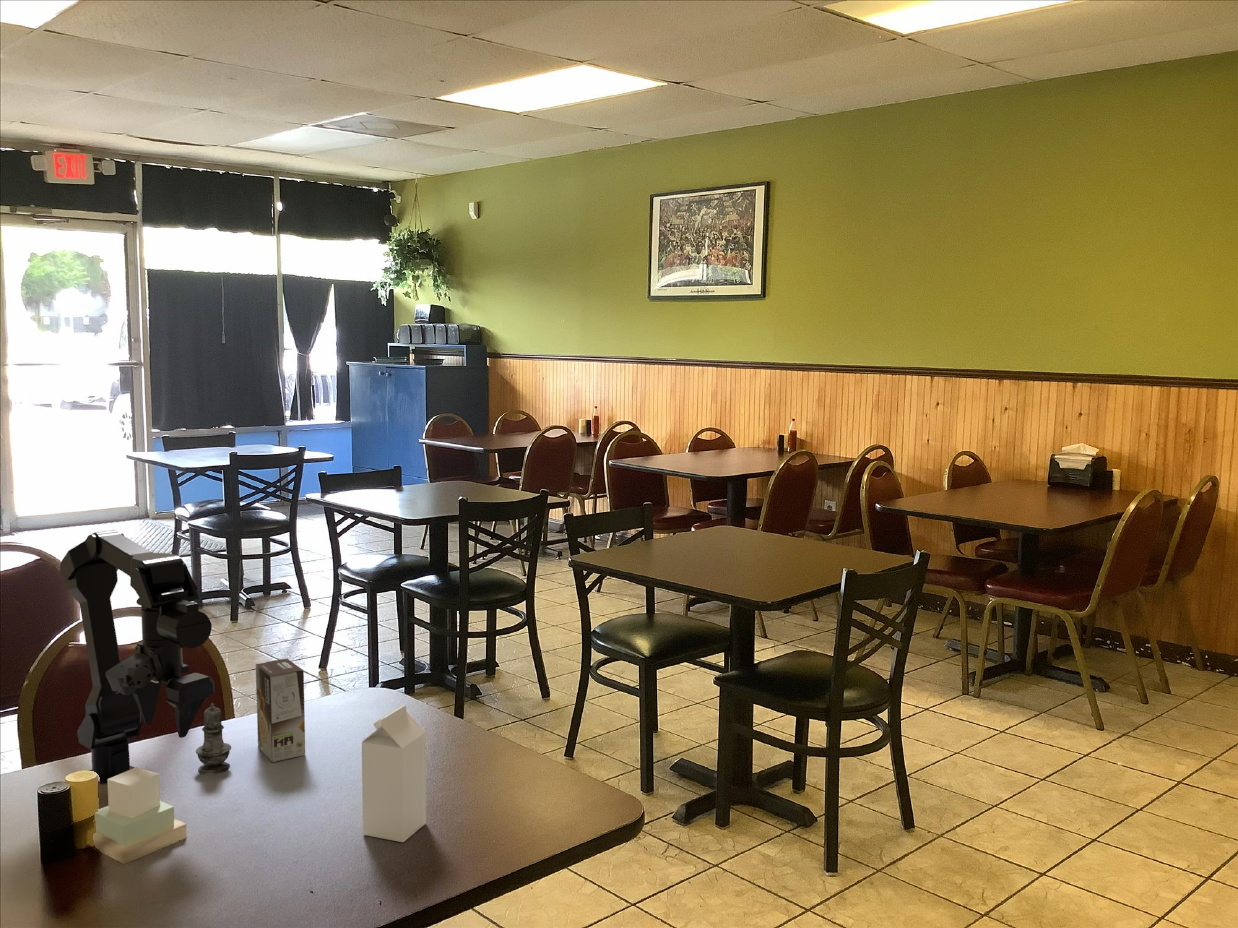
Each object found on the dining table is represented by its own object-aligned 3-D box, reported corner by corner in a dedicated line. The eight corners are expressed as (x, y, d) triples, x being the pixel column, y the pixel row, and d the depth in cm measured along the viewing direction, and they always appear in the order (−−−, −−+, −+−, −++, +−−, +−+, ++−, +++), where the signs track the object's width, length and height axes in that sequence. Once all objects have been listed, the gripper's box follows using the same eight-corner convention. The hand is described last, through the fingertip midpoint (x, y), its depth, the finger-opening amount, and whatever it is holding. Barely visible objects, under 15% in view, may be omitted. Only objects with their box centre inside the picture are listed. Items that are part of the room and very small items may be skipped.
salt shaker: (219, 776, 181) (217, 709, 180) (189, 773, 182) (187, 706, 181) (238, 763, 187) (236, 698, 186) (208, 760, 188) (206, 695, 187)
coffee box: (307, 755, 191) (305, 670, 189) (272, 762, 187) (270, 676, 185) (289, 739, 198) (288, 657, 197) (255, 746, 195) (253, 663, 193)
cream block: (108, 811, 156) (107, 779, 155) (137, 798, 160) (136, 766, 160) (131, 818, 154) (130, 786, 153) (160, 805, 158) (159, 773, 157)
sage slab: (93, 830, 156) (93, 811, 156) (144, 811, 163) (143, 792, 162) (123, 845, 151) (123, 825, 151) (174, 825, 158) (173, 806, 158)
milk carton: (426, 823, 165) (425, 707, 162) (403, 843, 158) (402, 722, 156) (387, 816, 167) (386, 701, 165) (362, 835, 160) (360, 716, 158)
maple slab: (86, 849, 156) (86, 830, 156) (149, 824, 165) (148, 806, 164) (124, 868, 151) (123, 849, 150) (186, 842, 159) (186, 823, 159)
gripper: (80, 637, 164) (84, 732, 166) (148, 658, 154) (152, 760, 155) (146, 622, 173) (149, 713, 175) (215, 641, 163) (218, 737, 164)
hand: (165, 730), depth 167 cm, fingers open, 9 cm apart
